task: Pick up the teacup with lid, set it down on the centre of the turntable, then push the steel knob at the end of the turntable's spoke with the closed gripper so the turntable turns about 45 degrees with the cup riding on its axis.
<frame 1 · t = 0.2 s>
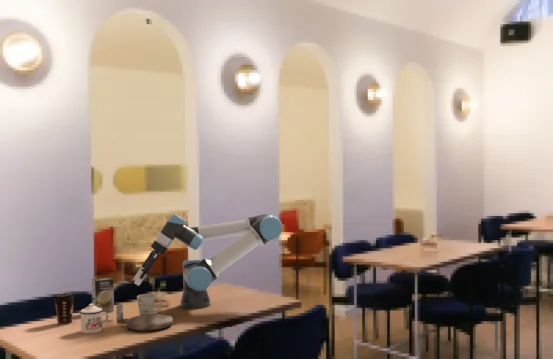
hand: (136, 282, 284), 16 cm above the table, tool tilted 35°, fingers open, 13 cm apart
mug: (150, 316, 284), on the table
coffee cup: (65, 323, 274), on the table
turntable base: (149, 326, 264), on the table
teacup with lid: (95, 330, 260), on the table
turntable: (144, 315, 264), point 5 cm above the table, hinge at 0.0°
coffee box: (103, 312, 295), on the table
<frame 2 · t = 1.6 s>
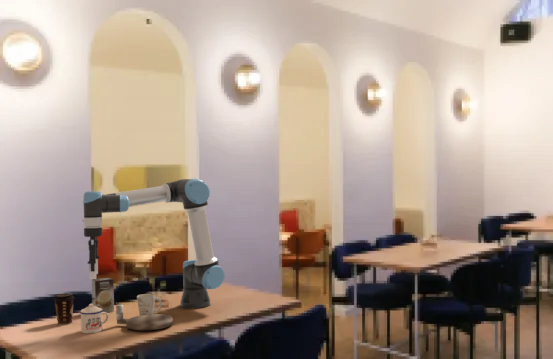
hand: (93, 276, 260), 23 cm above the table, tool pointing down, fingers open, 13 cm apart
nothing on the table moved.
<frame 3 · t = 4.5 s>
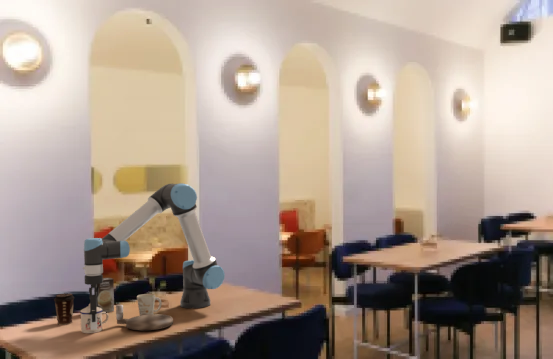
hand: (94, 326, 259), 2 cm above the table, tool pointing down, fingers closed on teacup with lid, 9 cm apart
teacup with lid: (95, 330, 260), on the table, touching gripper
everything else where it was.
when the fingers open (5 cm above the table, at t = 11.4 s): teacup with lid stays where it is, resting on turntable.
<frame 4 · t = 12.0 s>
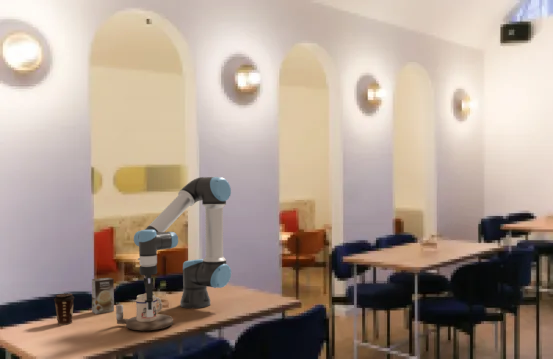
hand: (149, 313, 264), 6 cm above the table, tool pointing down, fingers open, 13 cm apart
teacup with lid: (149, 319, 265), point 3 cm above the table, touching turntable
turntable: (144, 315, 264), point 5 cm above the table, hinge at 0.0°, touching teacup with lid
everything else where it was.
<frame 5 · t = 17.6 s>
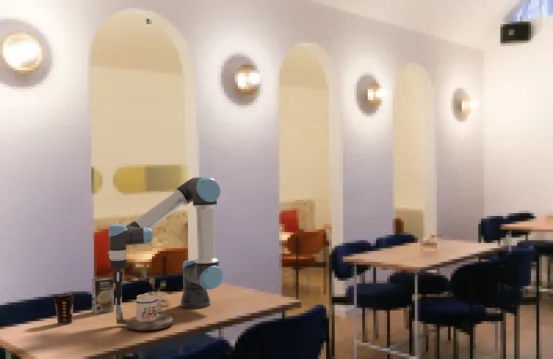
hand: (118, 311, 269), 6 cm above the table, tool pointing down, fingers closed
turntable: (144, 315, 264), point 5 cm above the table, hinge at 1.8°, touching gripper, teacup with lid
everything else where it was.
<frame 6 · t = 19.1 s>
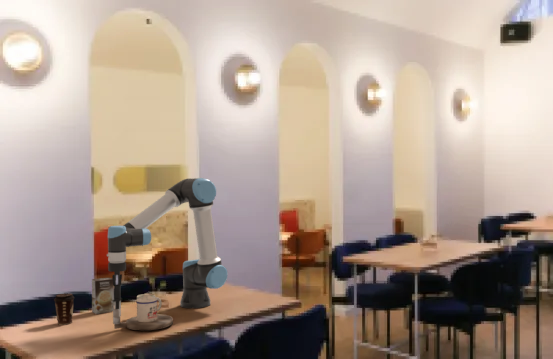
hand: (117, 315, 261), 6 cm above the table, tool pointing down, fingers closed
turntable: (145, 316, 263), point 5 cm above the table, hinge at 33.3°, touching gripper, teacup with lid
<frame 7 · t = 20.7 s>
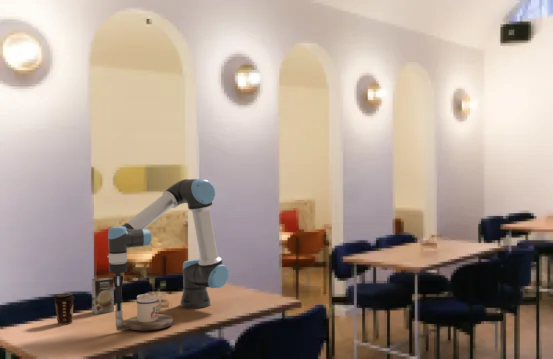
hand: (119, 317, 258), 6 cm above the table, tool pointing down, fingers closed
turntable: (146, 316, 262), point 5 cm above the table, hinge at 48.8°, touching gripper, teacup with lid
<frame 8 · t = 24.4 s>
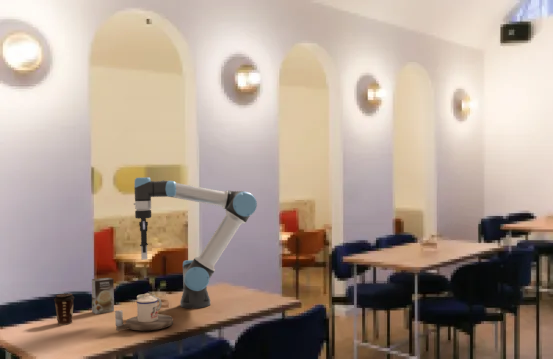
hand: (144, 259, 287), 26 cm above the table, tool pointing down, fingers closed
turntable: (146, 316, 262), point 5 cm above the table, hinge at 48.8°, touching teacup with lid
at the end: teacup with lid 0.6 cm from the turntable (horizontally); turntable at +49° (first picture: +0°); teacup with lid tilted 0° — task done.
